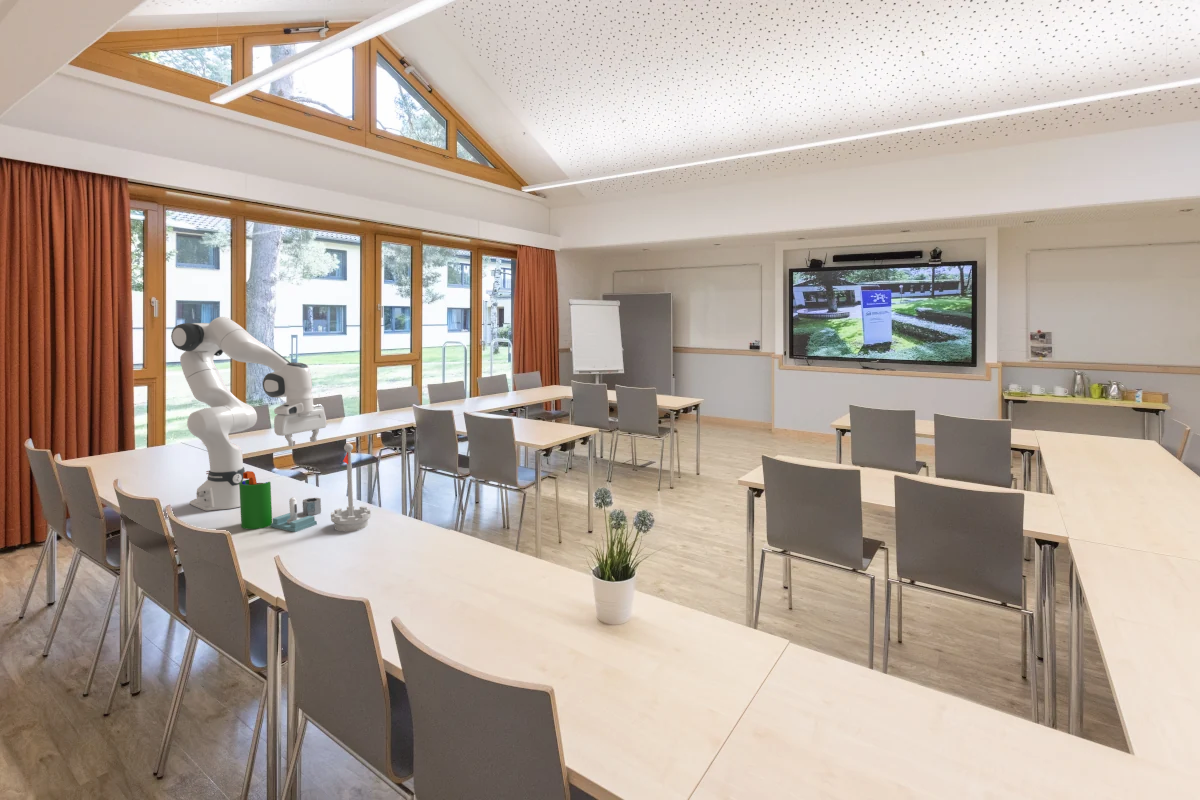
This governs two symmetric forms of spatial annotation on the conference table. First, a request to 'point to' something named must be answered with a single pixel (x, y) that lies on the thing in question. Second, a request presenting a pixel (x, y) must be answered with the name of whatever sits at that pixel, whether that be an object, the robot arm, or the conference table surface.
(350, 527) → the flag stand
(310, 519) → the shaft block
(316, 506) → the hub
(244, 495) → the green cup
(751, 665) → the conference table surface
